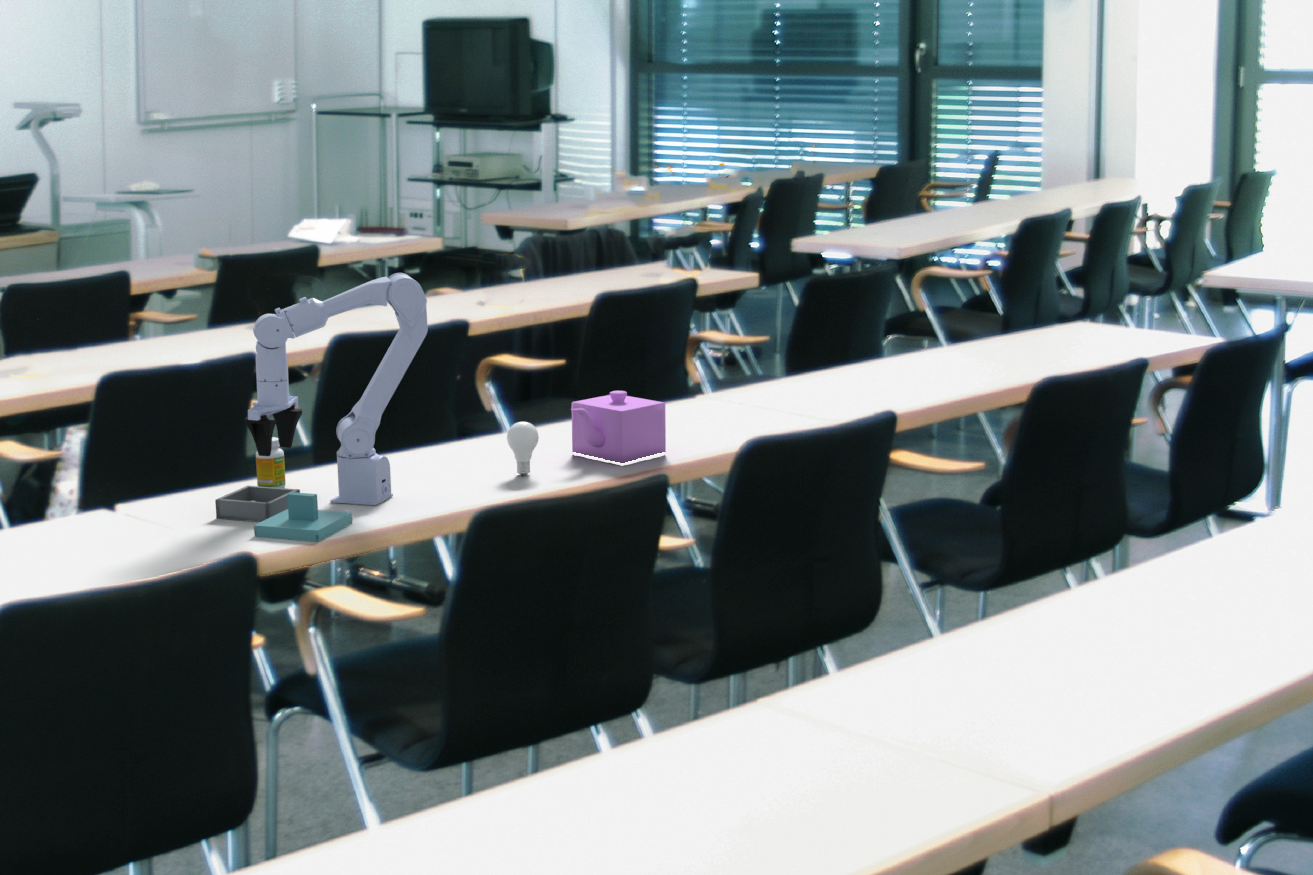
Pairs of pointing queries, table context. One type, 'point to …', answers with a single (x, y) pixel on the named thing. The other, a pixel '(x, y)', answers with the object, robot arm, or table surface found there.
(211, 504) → the table surface
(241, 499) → the tub
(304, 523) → the lid
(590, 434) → the teapot
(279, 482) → the supplement bottle
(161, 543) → the table surface
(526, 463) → the lightbulb
